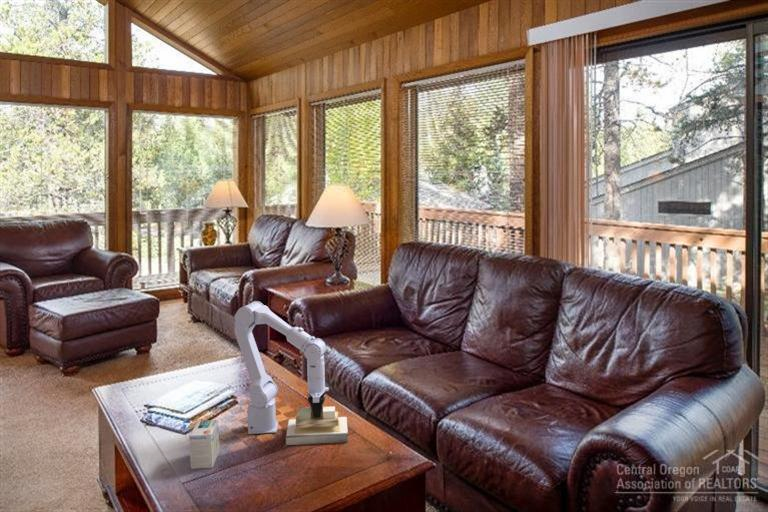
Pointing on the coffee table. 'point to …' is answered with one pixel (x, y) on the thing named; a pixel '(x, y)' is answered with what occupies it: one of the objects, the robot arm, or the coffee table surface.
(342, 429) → the dock
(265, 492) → the coffee table surface
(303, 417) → the block
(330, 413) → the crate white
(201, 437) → the light bulb box
